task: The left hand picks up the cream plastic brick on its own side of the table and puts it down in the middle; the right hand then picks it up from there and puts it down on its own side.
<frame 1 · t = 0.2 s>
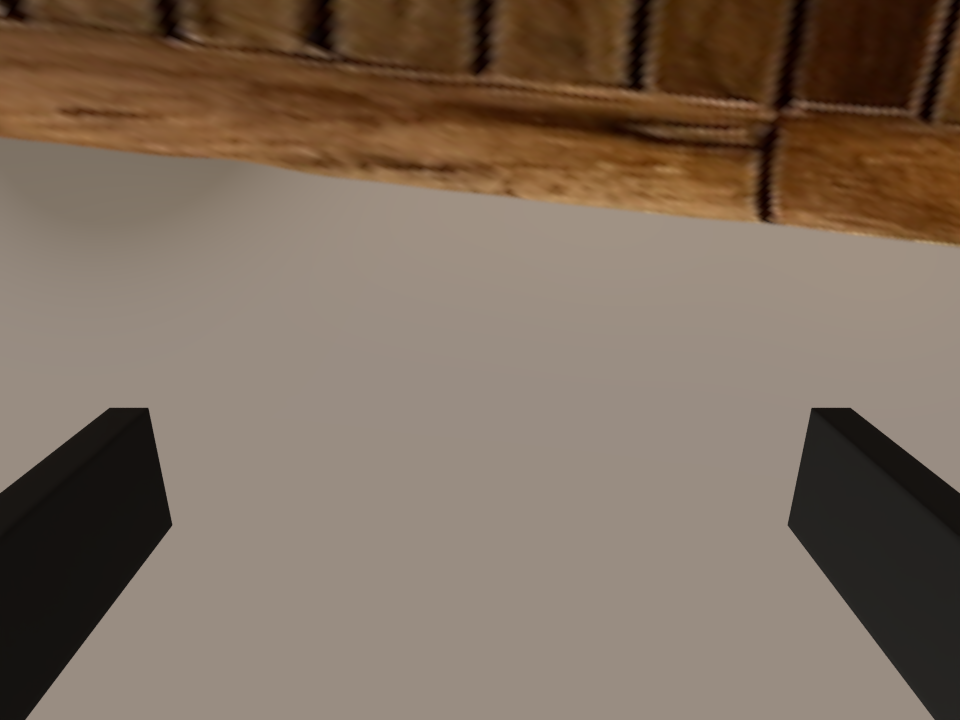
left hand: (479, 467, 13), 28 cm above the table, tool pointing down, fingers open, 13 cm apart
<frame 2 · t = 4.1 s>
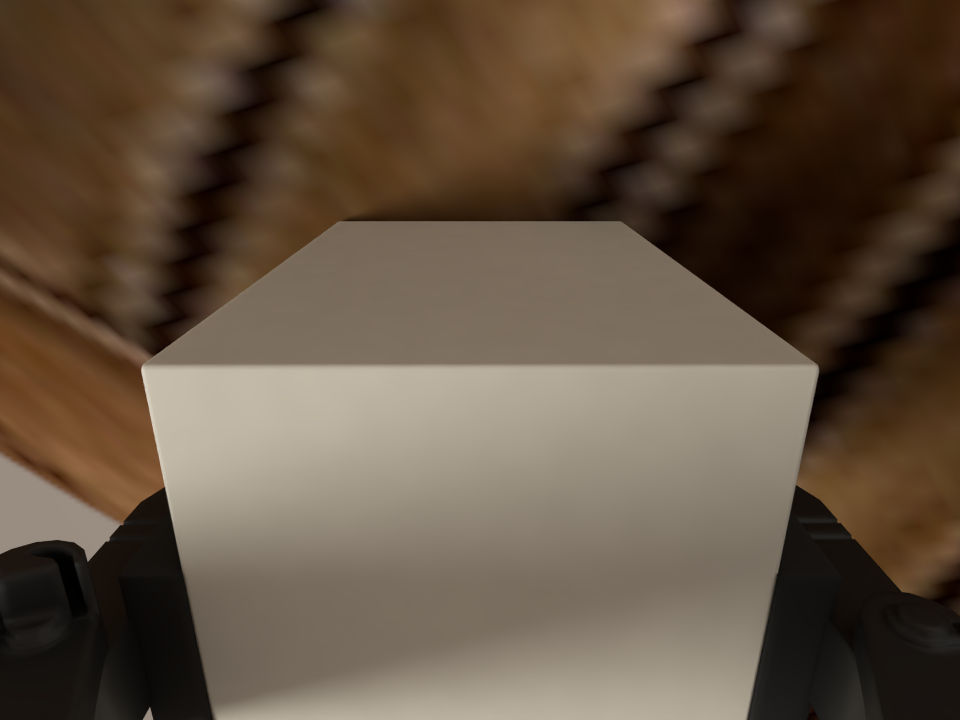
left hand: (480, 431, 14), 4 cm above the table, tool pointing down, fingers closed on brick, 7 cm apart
brick: (480, 367, 18), on the table, touching left hand
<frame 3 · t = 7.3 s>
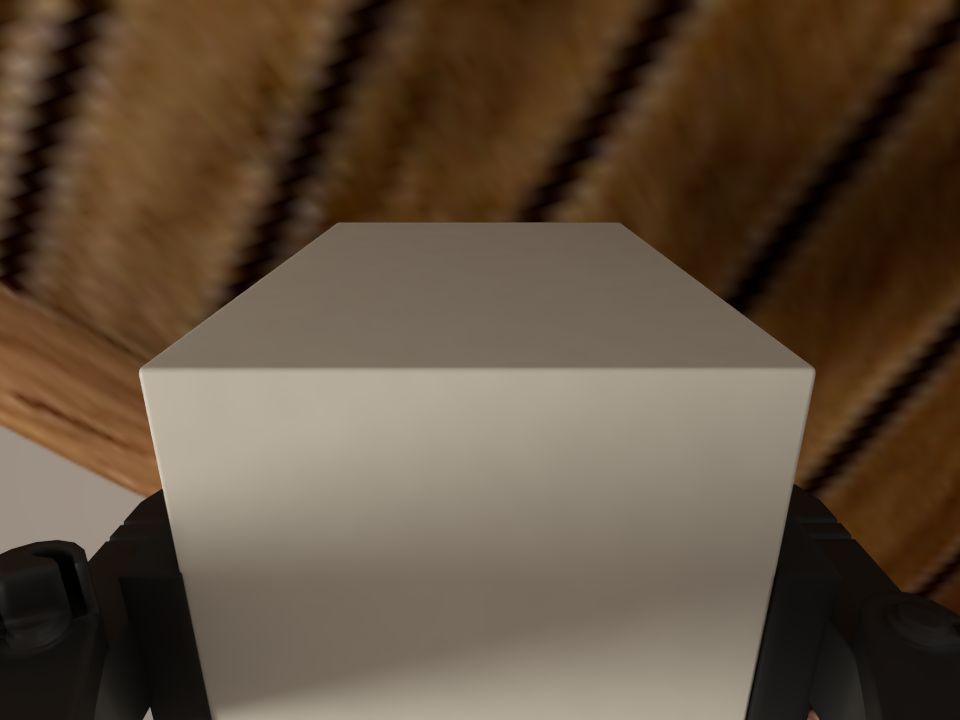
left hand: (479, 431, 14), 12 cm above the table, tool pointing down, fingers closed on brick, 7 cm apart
brick: (479, 368, 18), point 8 cm above the table, touching left hand
when the left hand's fingers open (5 cm above the table, at t = 11.0 s): brick drops 1 cm, on the table.
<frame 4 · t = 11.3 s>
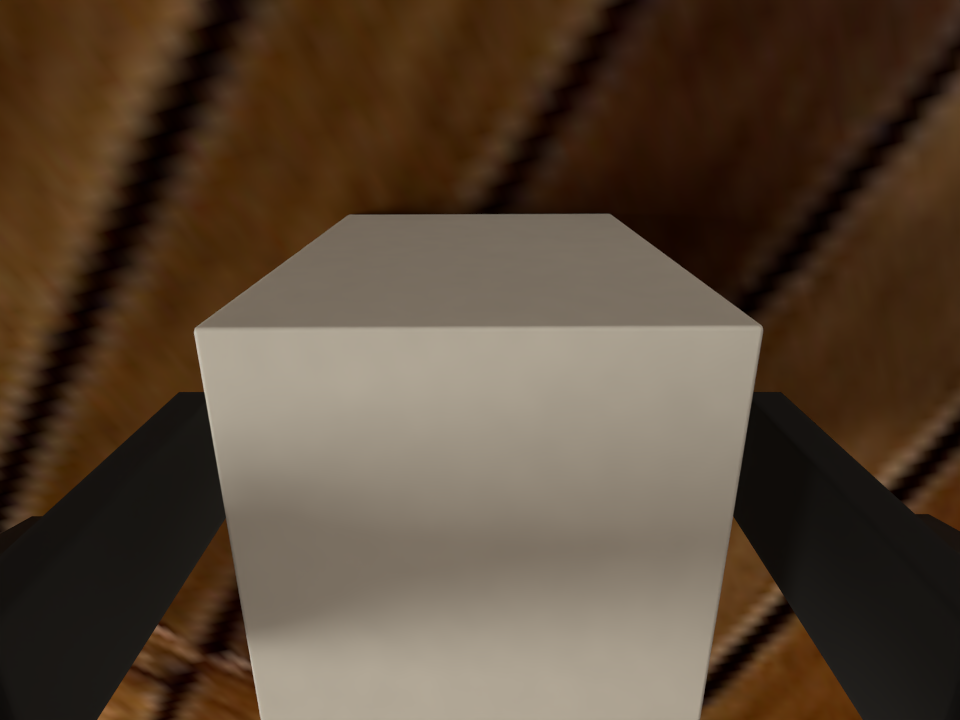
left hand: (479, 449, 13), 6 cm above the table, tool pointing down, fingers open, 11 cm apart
brick: (479, 351, 19), on the table
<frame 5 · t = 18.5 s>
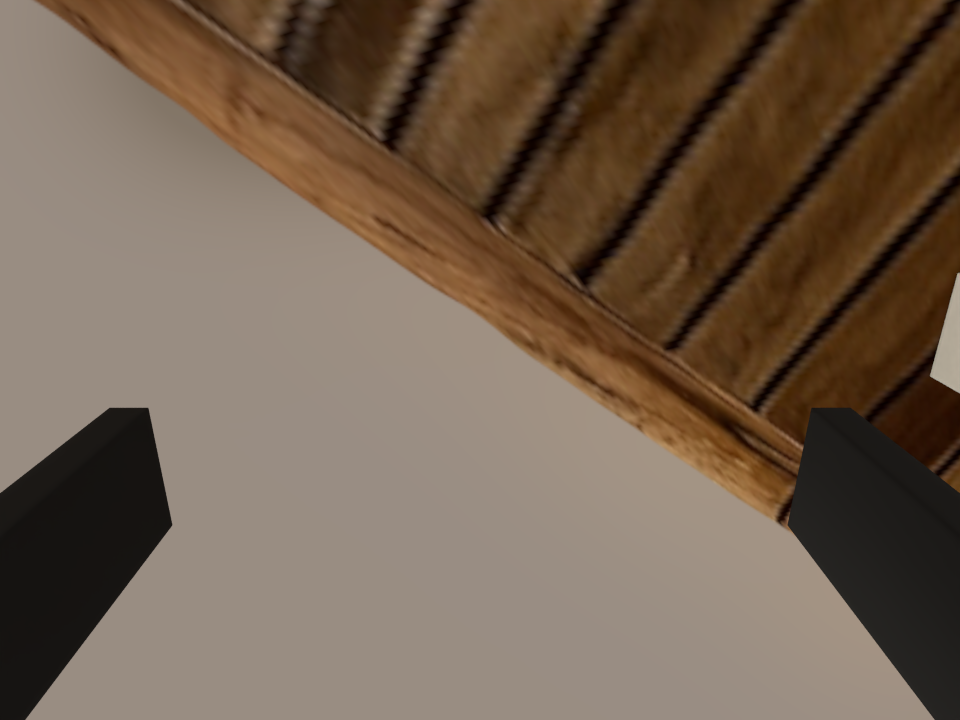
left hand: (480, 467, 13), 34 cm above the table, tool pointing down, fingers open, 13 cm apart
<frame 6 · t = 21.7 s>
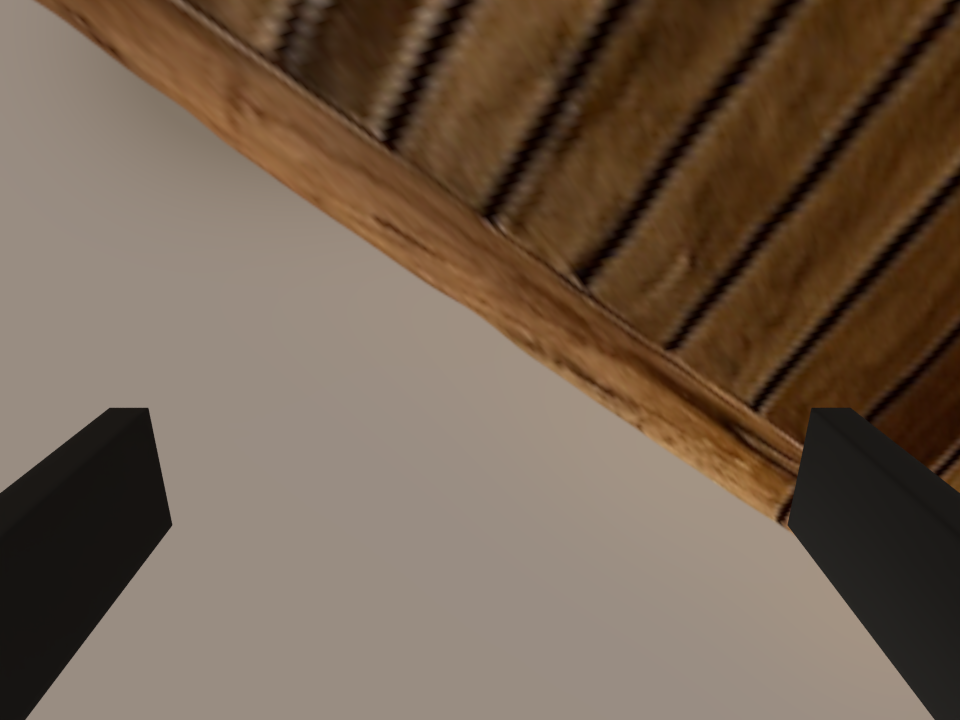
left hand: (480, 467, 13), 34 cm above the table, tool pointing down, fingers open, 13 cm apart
when the right hand's fingers open (5 cm above the table, at t = 25.1 s): brick drops 1 cm, on the table.
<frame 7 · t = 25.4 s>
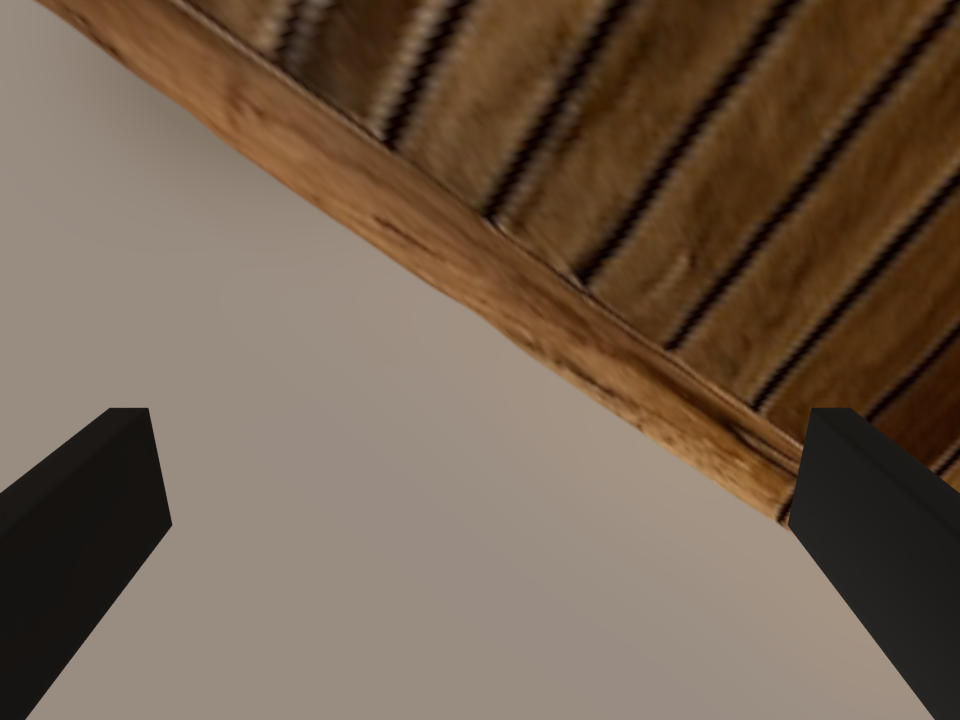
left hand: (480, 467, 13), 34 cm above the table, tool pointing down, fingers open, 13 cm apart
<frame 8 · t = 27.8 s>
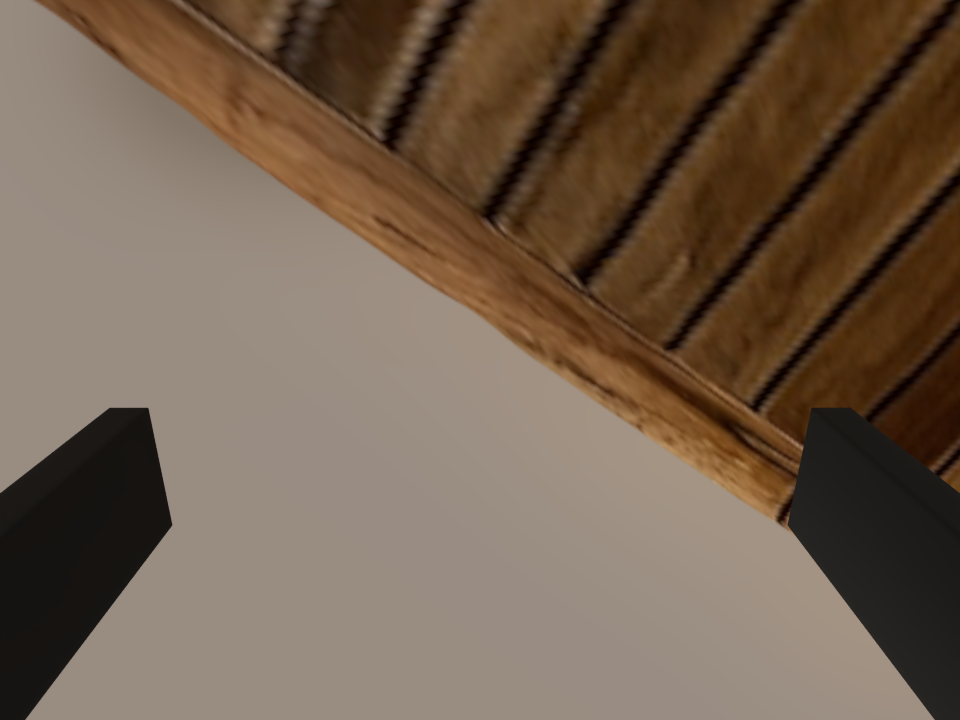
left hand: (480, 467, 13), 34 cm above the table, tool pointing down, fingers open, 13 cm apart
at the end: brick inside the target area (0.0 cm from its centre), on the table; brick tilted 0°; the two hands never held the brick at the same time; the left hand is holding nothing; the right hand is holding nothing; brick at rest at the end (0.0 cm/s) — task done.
